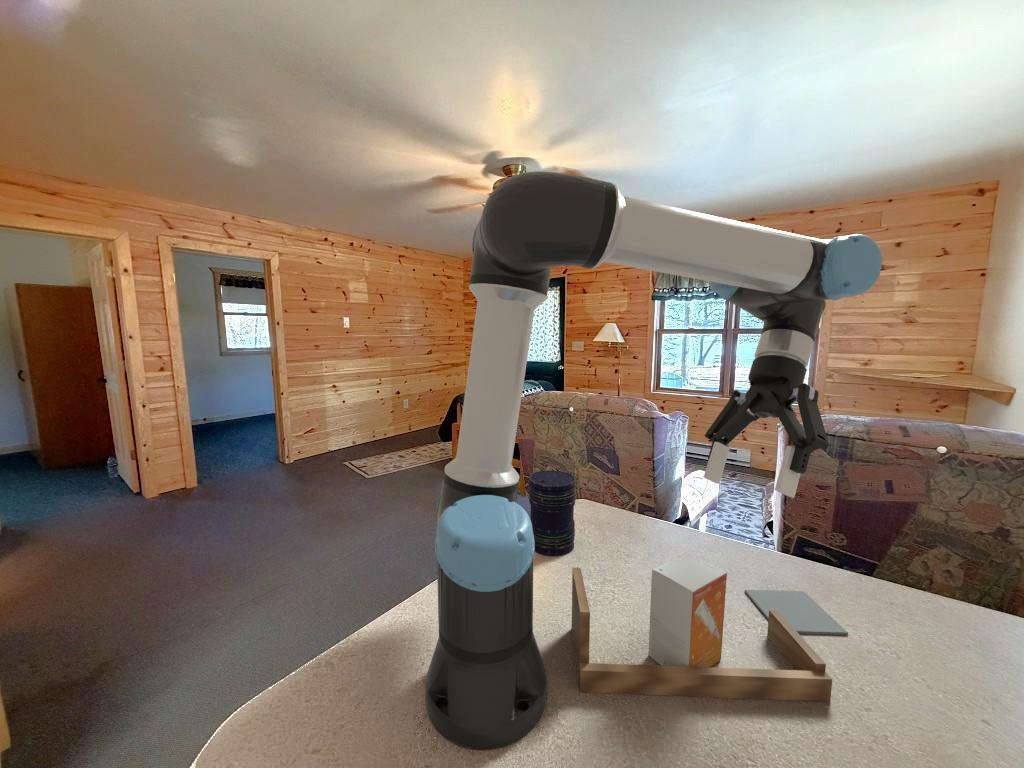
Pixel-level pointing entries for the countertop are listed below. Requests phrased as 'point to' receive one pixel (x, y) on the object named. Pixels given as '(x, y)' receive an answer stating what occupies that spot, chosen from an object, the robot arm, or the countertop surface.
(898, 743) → the countertop surface
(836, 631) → the mat
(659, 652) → the small box
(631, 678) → the wooden u-shaped frame
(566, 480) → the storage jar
